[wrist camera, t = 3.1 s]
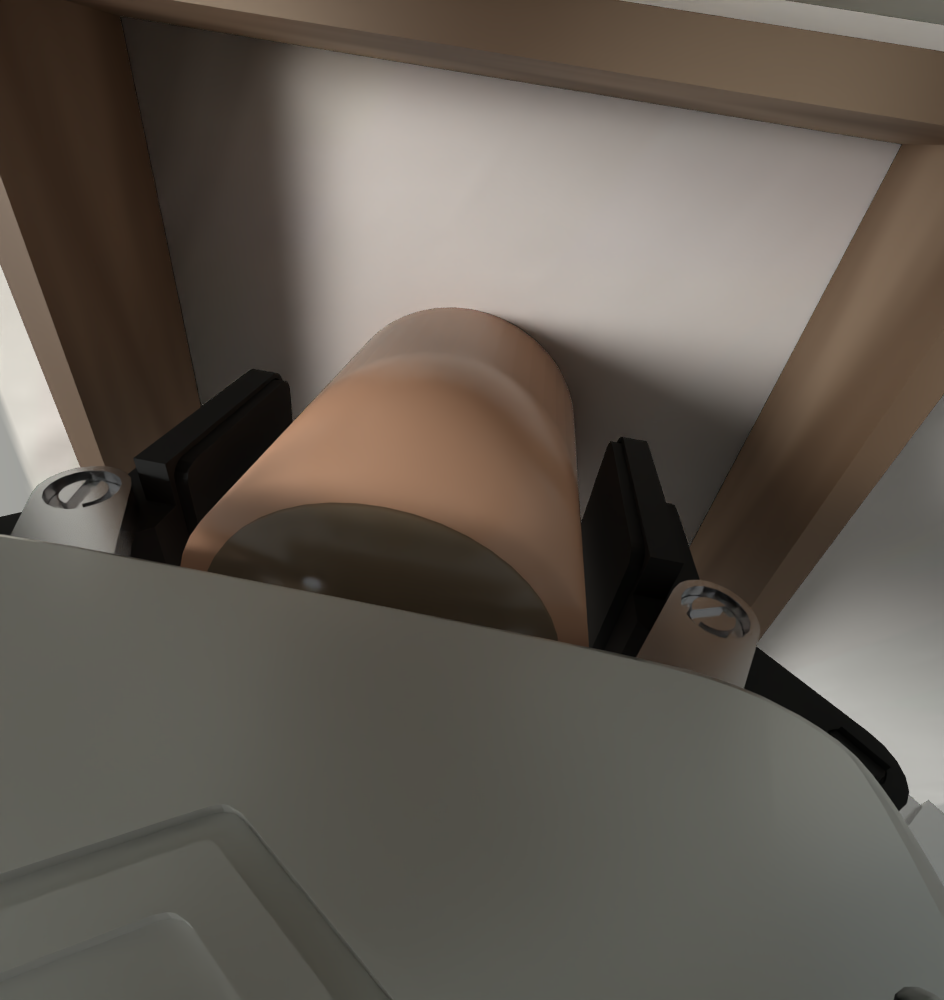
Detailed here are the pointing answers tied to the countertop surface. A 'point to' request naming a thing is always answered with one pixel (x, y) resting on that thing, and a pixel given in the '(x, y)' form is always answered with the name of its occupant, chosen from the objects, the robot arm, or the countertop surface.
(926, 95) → the wooden bench
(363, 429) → the flowerpot
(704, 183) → the countertop surface
